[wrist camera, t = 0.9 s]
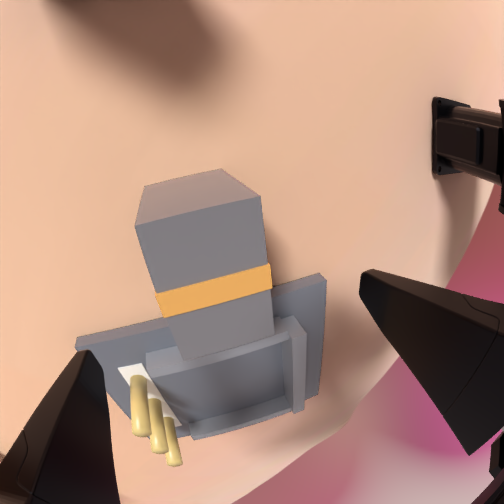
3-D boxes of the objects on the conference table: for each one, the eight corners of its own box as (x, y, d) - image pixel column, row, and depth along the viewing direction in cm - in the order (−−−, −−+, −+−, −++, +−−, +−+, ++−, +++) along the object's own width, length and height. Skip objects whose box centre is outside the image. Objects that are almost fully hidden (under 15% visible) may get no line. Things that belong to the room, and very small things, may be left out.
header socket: (319, 272, 19) (367, 320, 14) (313, 387, 25) (339, 427, 21) (77, 337, 15) (64, 403, 10) (151, 434, 22) (159, 481, 17)
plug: (222, 168, 14) (262, 196, 9) (238, 268, 17) (276, 335, 11) (143, 186, 13) (132, 227, 8) (171, 286, 16) (182, 362, 11)
